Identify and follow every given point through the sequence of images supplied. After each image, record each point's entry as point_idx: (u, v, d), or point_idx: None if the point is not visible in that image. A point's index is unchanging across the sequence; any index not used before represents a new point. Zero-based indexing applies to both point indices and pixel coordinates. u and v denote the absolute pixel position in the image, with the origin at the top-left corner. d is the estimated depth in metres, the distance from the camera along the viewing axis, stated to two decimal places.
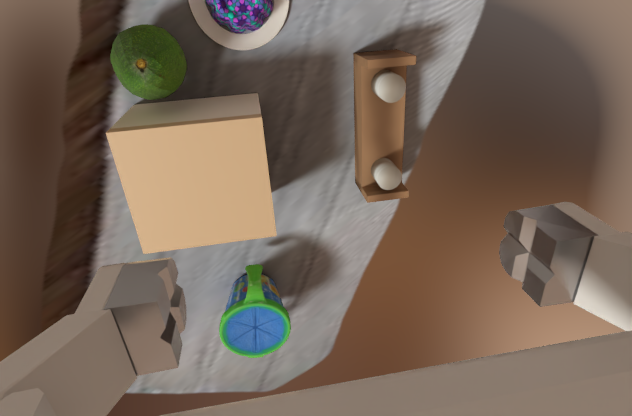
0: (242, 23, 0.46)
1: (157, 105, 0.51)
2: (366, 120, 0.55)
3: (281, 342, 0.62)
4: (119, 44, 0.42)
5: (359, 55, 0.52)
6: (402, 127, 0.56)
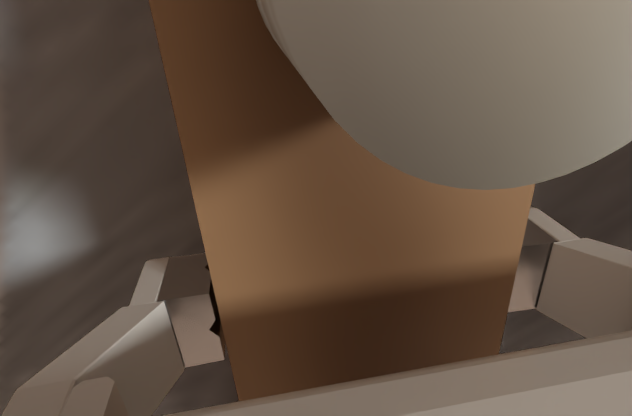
0: None
1: None
2: (472, 337, 0.09)
3: None
4: None
5: None
6: (233, 325, 0.08)
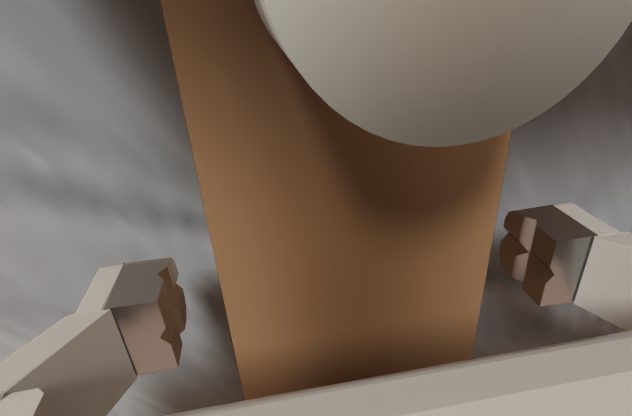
0: None
1: None
2: (452, 308, 0.10)
3: None
4: None
5: None
6: (233, 293, 0.09)
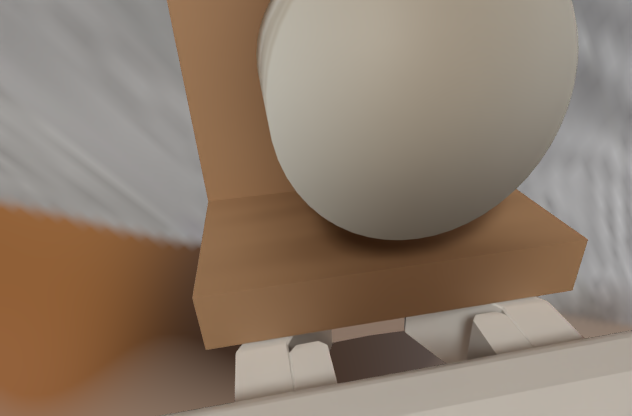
0: None
1: None
2: None
3: None
4: None
5: None
6: None
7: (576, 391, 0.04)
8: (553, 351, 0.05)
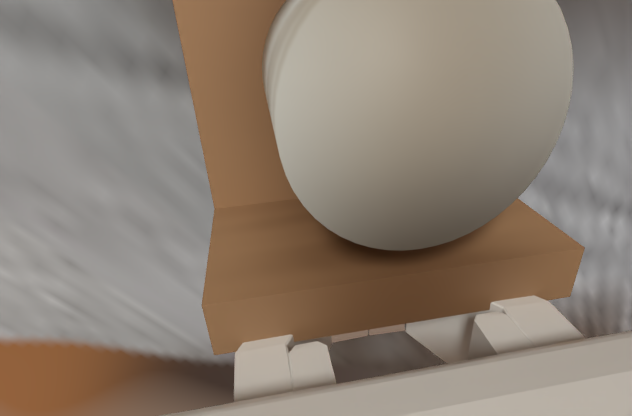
0: None
1: None
2: None
3: None
4: None
5: None
6: None
7: (576, 391, 0.04)
8: (553, 351, 0.05)
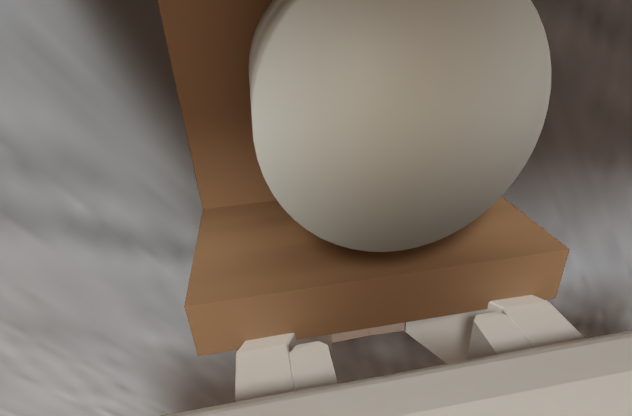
0: None
1: None
2: None
3: None
4: None
5: None
6: None
7: (576, 391, 0.04)
8: (553, 351, 0.05)
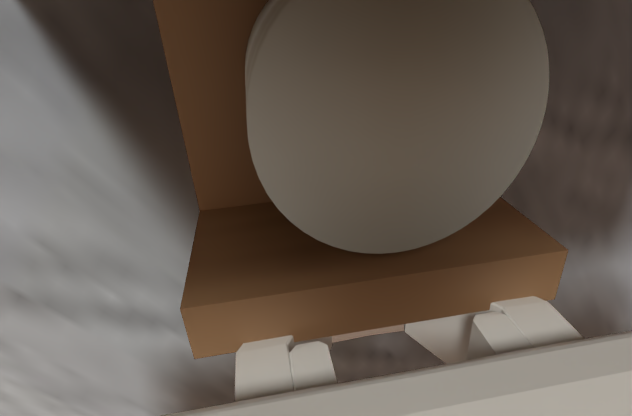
0: None
1: None
2: None
3: None
4: None
5: None
6: None
7: (576, 391, 0.04)
8: (553, 351, 0.05)
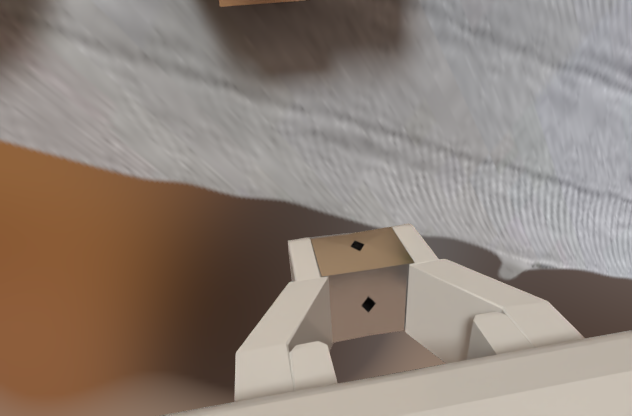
0: None
1: None
2: None
3: None
4: None
5: None
6: None
7: (576, 391, 0.04)
8: (553, 351, 0.05)
